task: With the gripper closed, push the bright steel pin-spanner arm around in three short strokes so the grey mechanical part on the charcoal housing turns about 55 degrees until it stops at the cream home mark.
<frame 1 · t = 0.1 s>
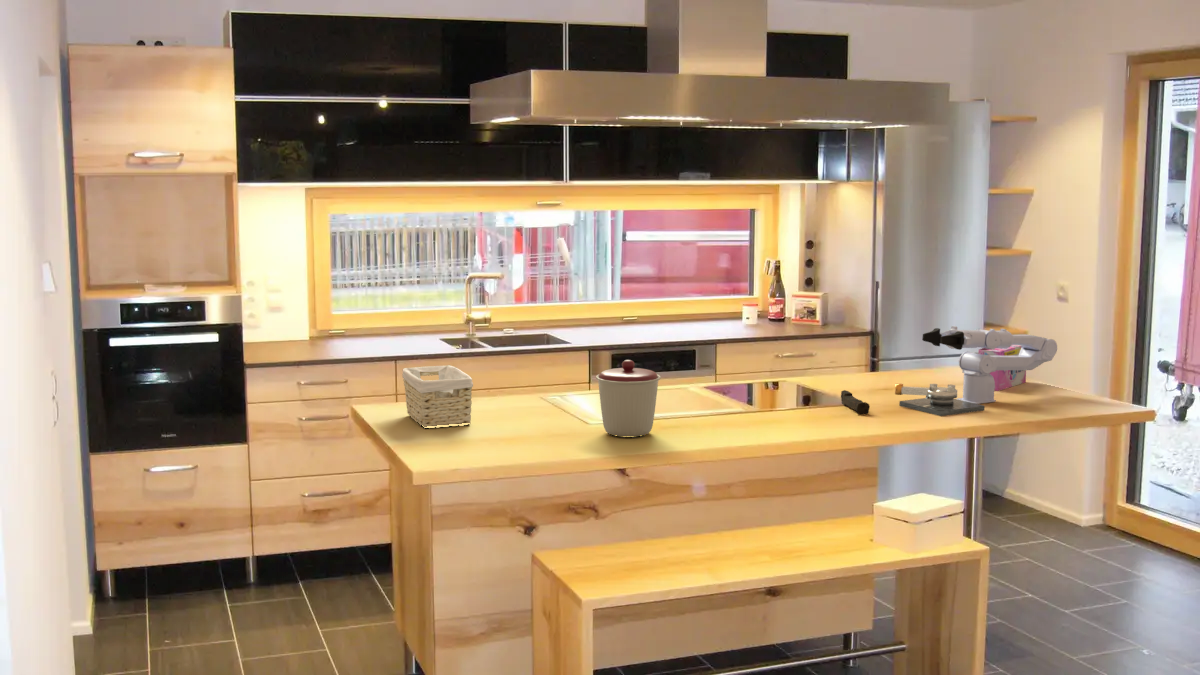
hand: (932, 338, 363), 22 cm above the countertop, tool horizontal, fingers open, 7 cm apart
canister: (628, 434, 329), on the countertop
gum box: (1001, 386, 404), on the countertop
storage basket: (437, 421, 347), on the countertop
nut housing: (941, 408, 365), on the countertop
hand tool: (850, 409, 364), on the countertop
grey mechanical part: (925, 391, 365), point 5 cm above the countertop, hinge at -55.0°
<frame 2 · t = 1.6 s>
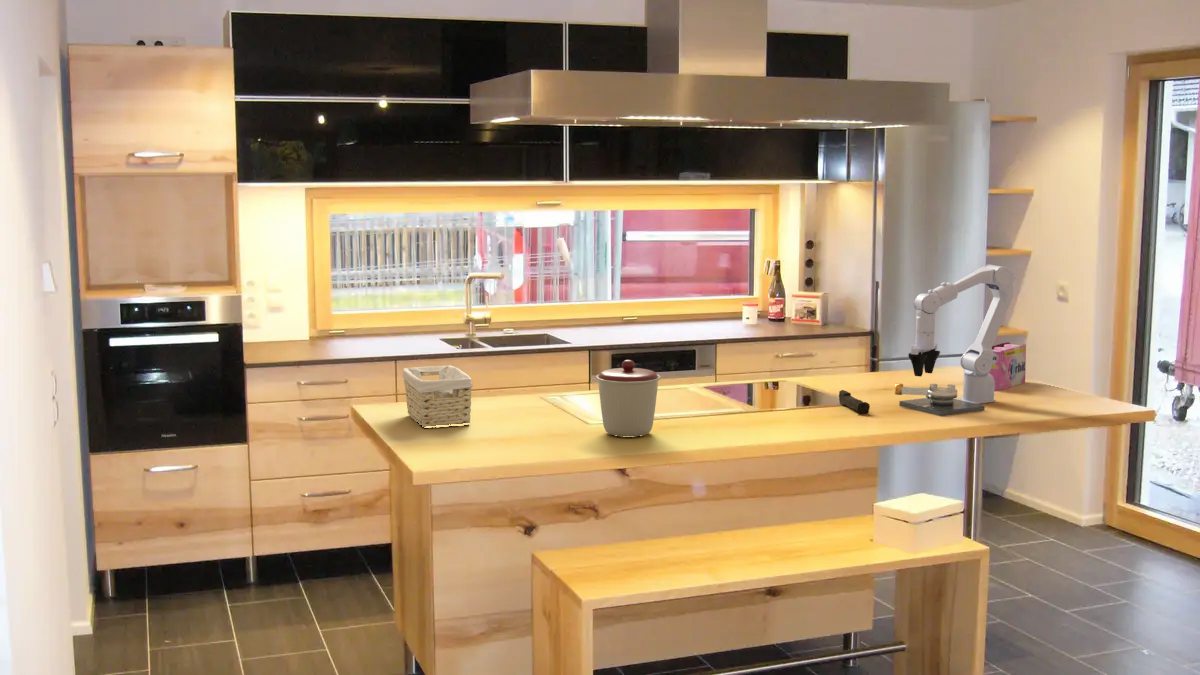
hand: (923, 374, 370), 9 cm above the countertop, tool pointing down, fingers open, 7 cm apart
nothing on the countertop moved.
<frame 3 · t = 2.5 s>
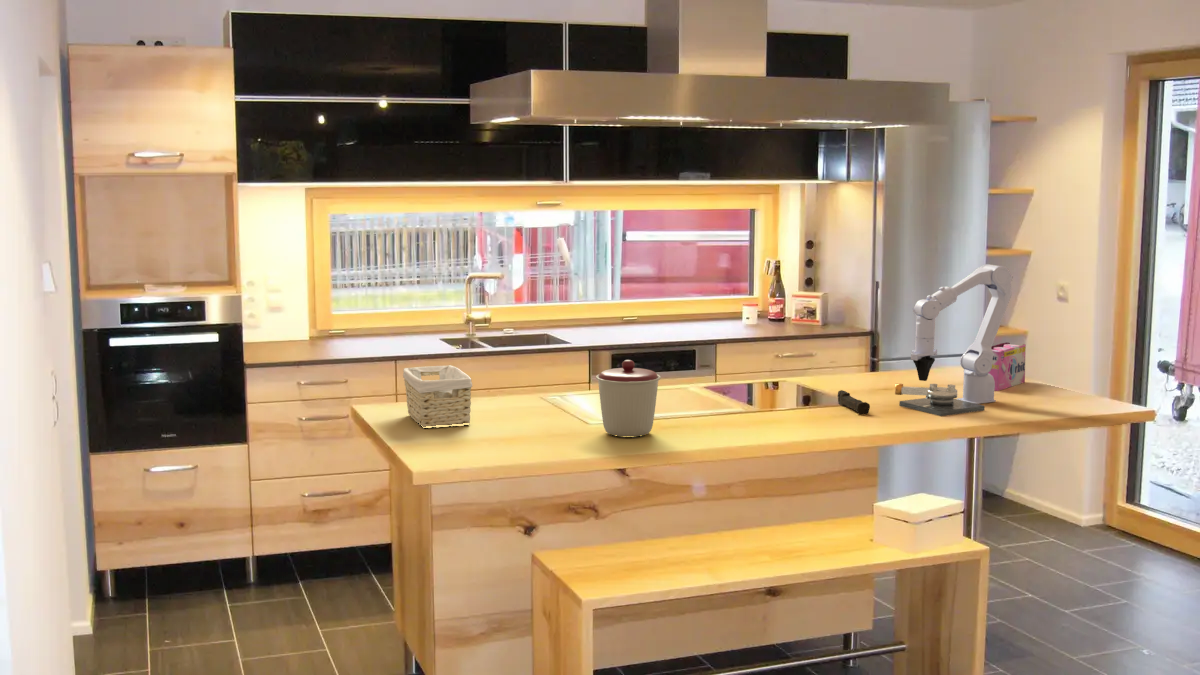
hand: (923, 380, 370), 8 cm above the countertop, tool pointing down, fingers closed
nothing on the countertop moved.
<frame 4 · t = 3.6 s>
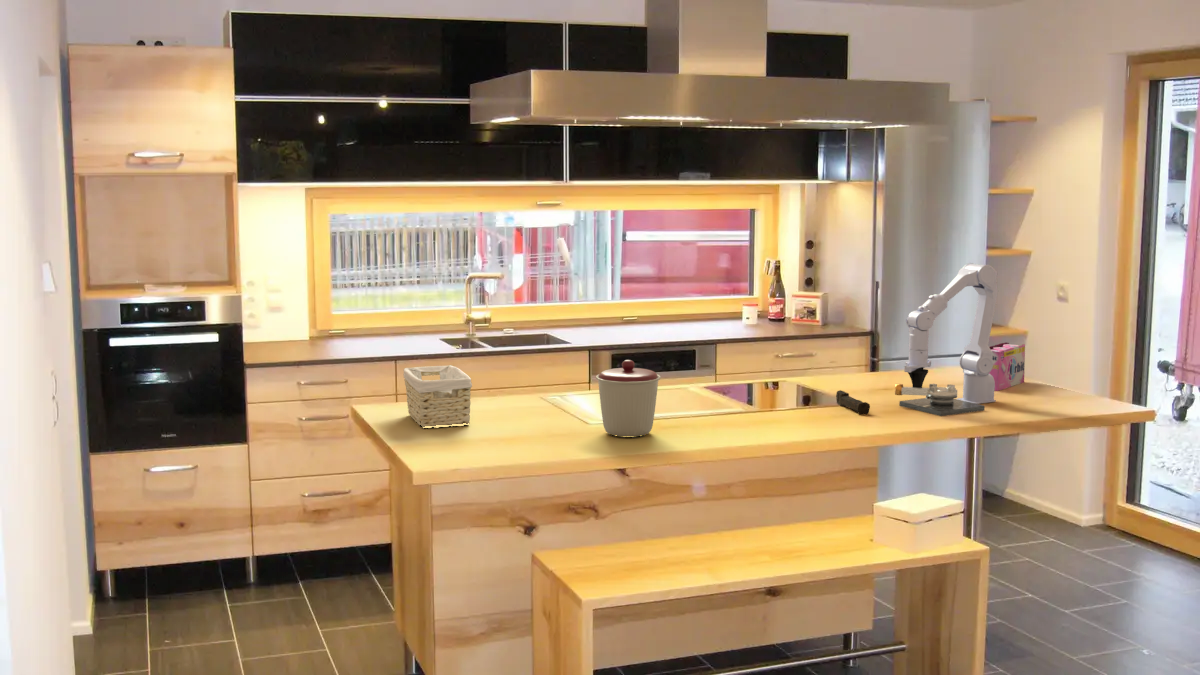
hand: (917, 392, 368), 4 cm above the countertop, tool pointing down, fingers closed, pressing on grey mechanical part
grey mechanical part: (925, 391, 365), point 5 cm above the countertop, hinge at -52.4°, touching gripper
everything else where it was.
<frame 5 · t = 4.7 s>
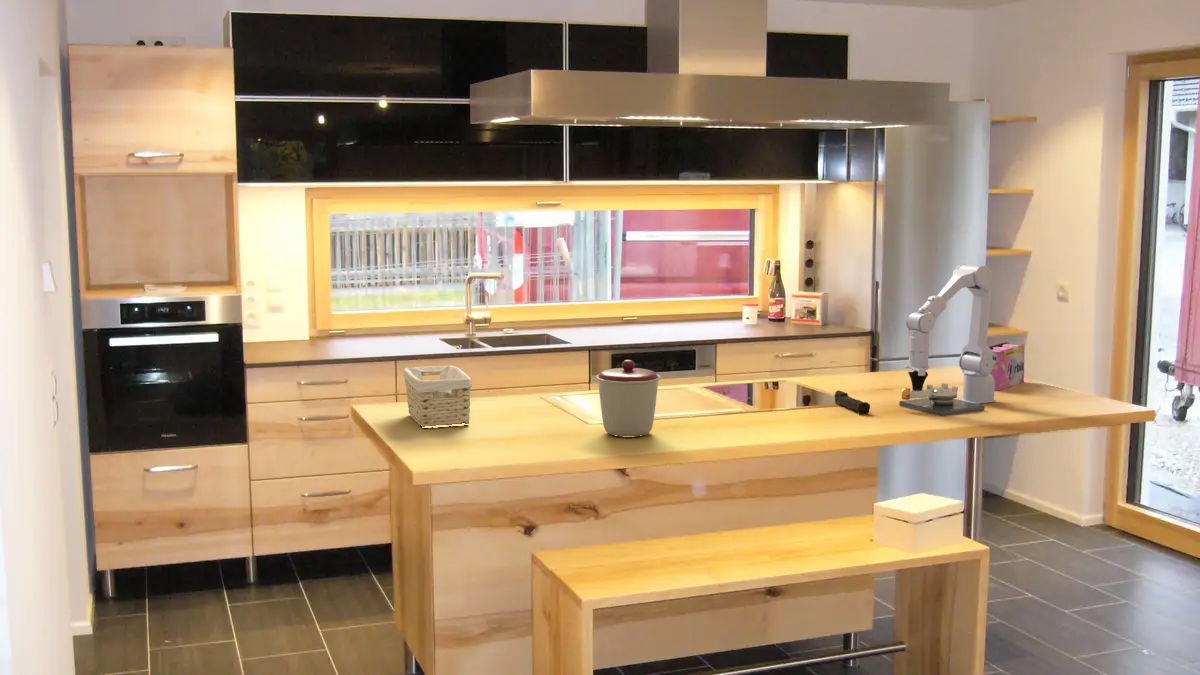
hand: (917, 394, 363), 4 cm above the countertop, tool pointing down, fingers closed, pressing on grey mechanical part
grey mechanical part: (928, 393, 362), point 5 cm above the countertop, hinge at -19.5°, touching gripper
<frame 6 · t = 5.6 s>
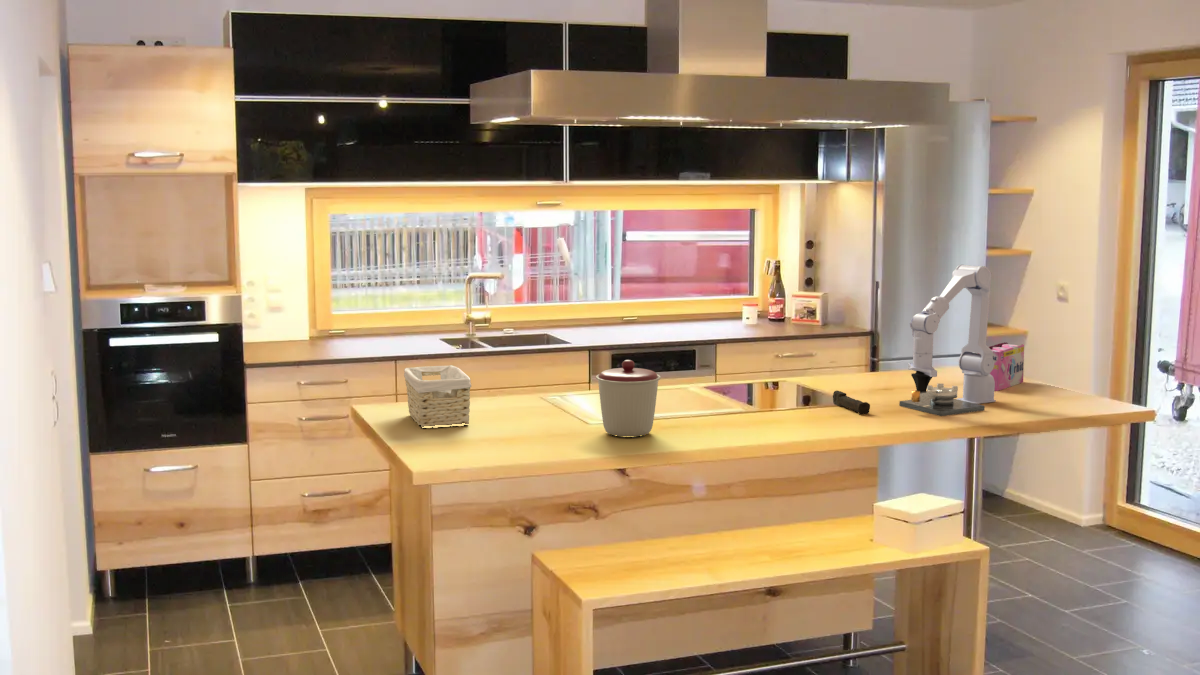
hand: (921, 396, 361), 4 cm above the countertop, tool pointing down, fingers closed
grey mechanical part: (932, 394, 361), point 5 cm above the countertop, hinge at -0.3°, touching gripper
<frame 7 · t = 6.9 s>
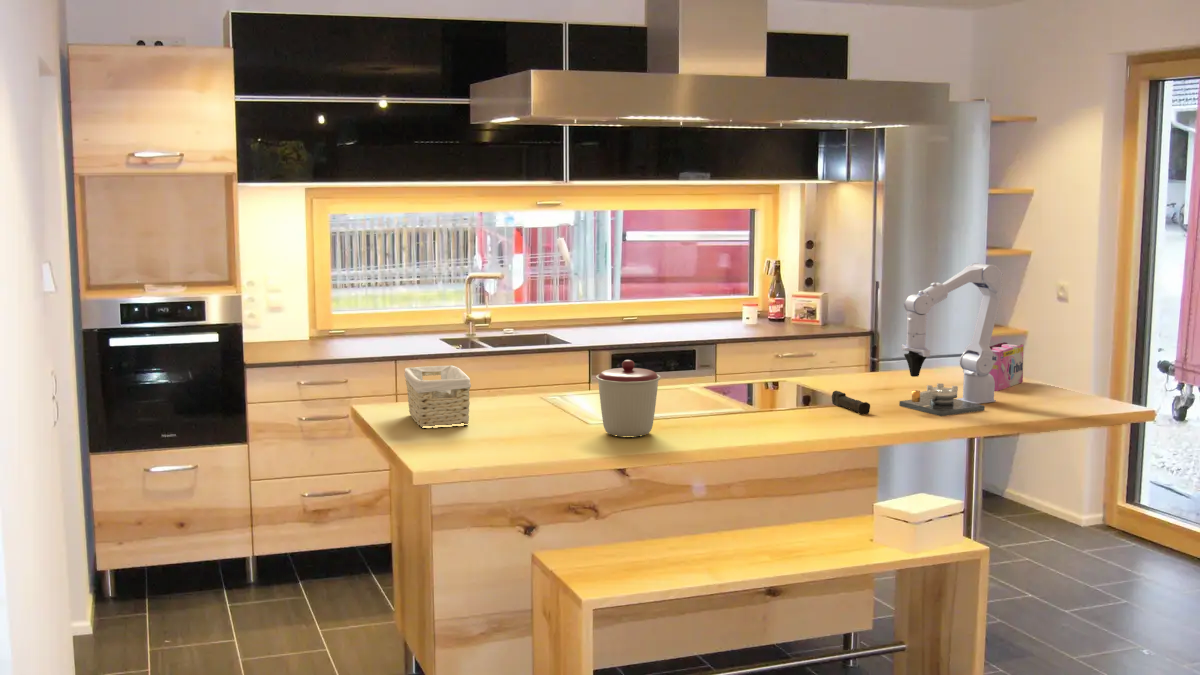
hand: (914, 376, 367), 9 cm above the countertop, tool pointing down, fingers closed
grey mechanical part: (932, 394, 361), point 5 cm above the countertop, hinge at -0.1°
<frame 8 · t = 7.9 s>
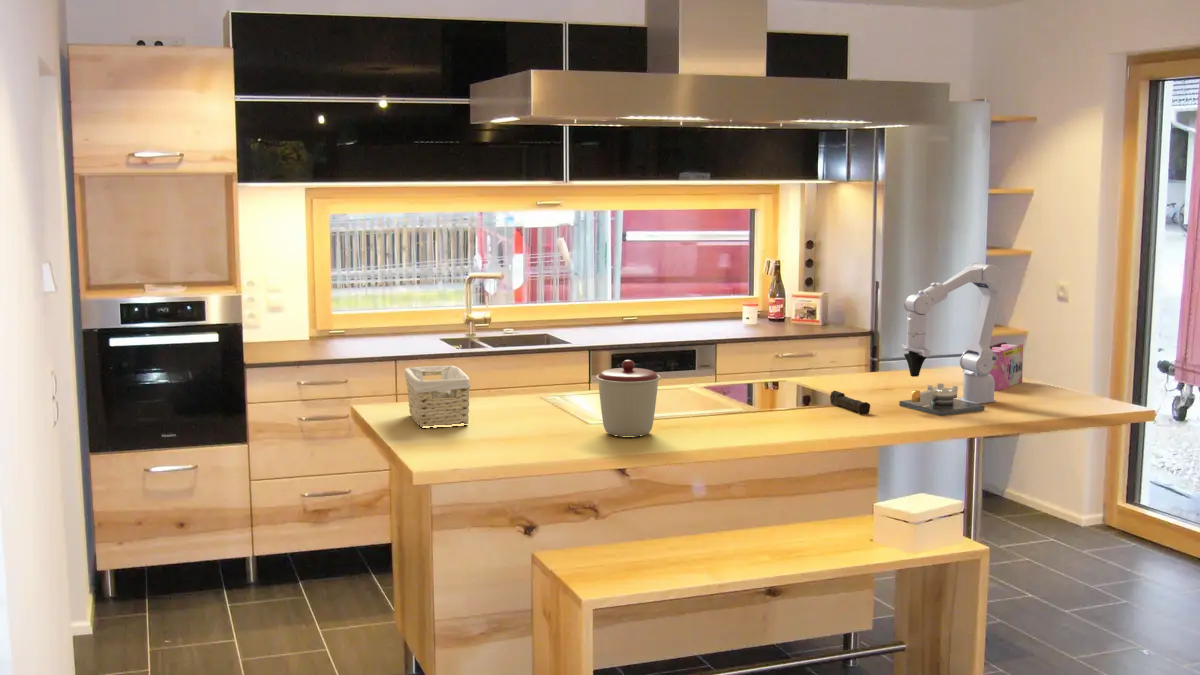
hand: (914, 376, 367), 9 cm above the countertop, tool pointing down, fingers closed
at the end: grey mechanical part at +0° (first picture: -55°); hand tool moved 1.9 cm from its start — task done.
